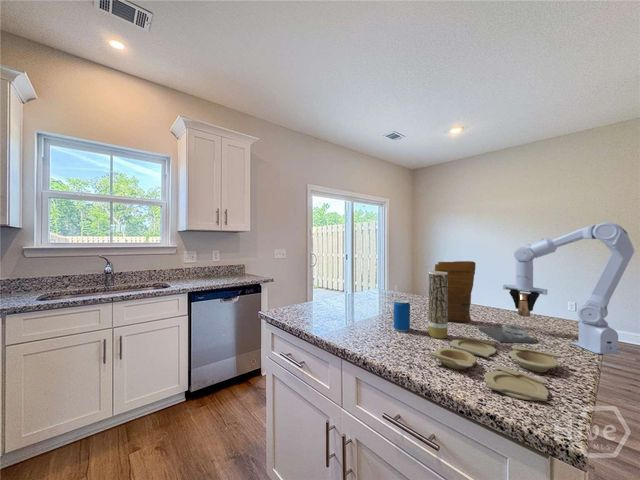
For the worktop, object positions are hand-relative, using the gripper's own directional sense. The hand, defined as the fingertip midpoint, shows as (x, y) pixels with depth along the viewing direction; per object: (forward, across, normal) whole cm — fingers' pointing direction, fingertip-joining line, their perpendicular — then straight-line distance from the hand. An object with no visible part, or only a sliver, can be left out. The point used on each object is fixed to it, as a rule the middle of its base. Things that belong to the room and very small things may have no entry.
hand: (524, 309), depth 110 cm
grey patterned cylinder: (+9, +19, +34) cm, 40 cm away
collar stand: (+9, +3, +12) cm, 15 cm away
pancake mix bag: (+9, +25, +9) cm, 28 cm away
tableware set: (+10, -4, +43) cm, 45 cm away
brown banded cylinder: (+2, 0, 0) cm, 2 cm away
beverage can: (+9, +32, +39) cm, 51 cm away
